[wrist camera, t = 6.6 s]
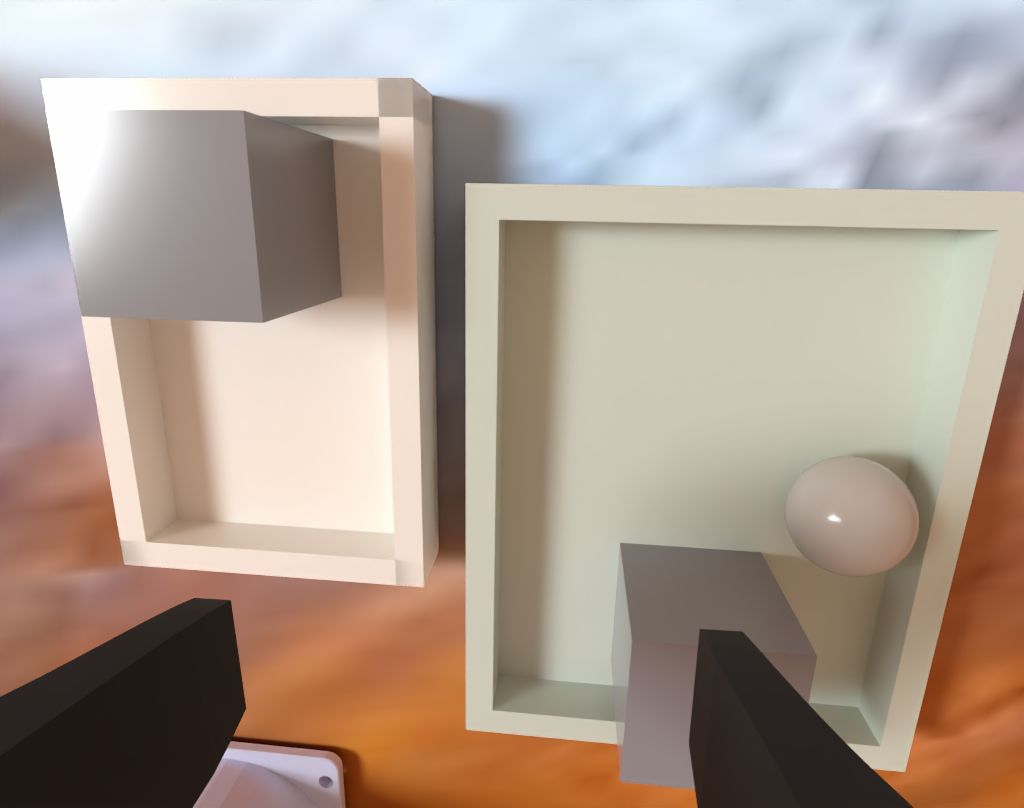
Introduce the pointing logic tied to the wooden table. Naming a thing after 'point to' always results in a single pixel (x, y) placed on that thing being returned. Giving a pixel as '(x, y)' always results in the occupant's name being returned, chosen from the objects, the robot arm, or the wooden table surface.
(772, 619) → the grey cube
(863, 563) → the pale pink ball
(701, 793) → the robot arm
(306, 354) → the dish
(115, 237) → the grey cube
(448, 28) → the wooden table surface
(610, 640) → the bin
